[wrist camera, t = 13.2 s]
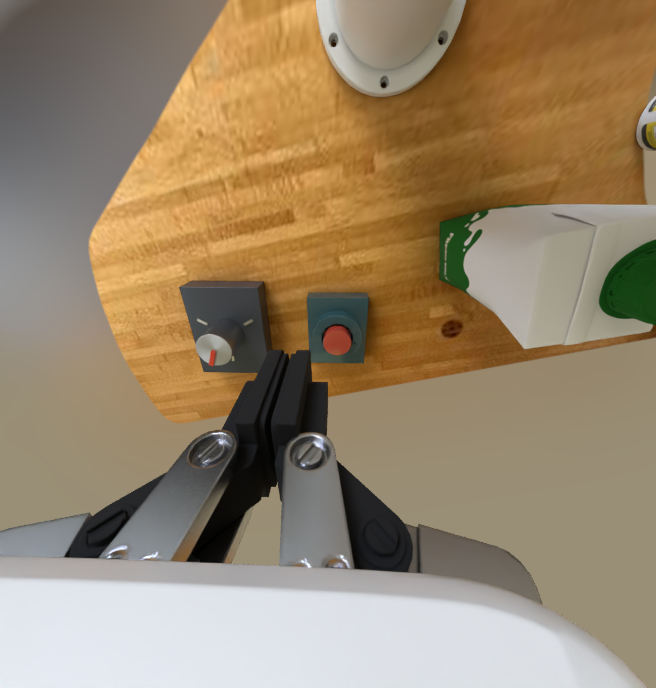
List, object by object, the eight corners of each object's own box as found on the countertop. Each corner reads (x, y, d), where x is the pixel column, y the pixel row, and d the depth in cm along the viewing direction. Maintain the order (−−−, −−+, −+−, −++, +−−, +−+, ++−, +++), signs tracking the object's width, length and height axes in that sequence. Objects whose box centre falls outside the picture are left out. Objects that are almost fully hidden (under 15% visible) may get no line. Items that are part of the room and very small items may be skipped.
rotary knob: (213, 314, 33) (195, 330, 29) (246, 325, 34) (233, 342, 30) (210, 342, 35) (192, 360, 31) (241, 351, 36) (228, 371, 32)
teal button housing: (308, 292, 35) (305, 302, 31) (367, 292, 34) (370, 302, 31) (311, 354, 39) (308, 369, 36) (362, 355, 39) (364, 370, 36)
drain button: (323, 324, 33) (322, 330, 31) (351, 325, 33) (352, 331, 31) (323, 348, 35) (323, 355, 33) (350, 349, 35) (350, 355, 33)
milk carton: (503, 274, 33) (695, 354, 15) (430, 287, 34) (531, 376, 16) (512, 197, 28) (792, 185, 11) (430, 215, 30) (564, 229, 12)
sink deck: (190, 280, 34) (178, 287, 32) (263, 281, 34) (257, 288, 31) (212, 361, 41) (203, 372, 38) (273, 362, 40) (269, 373, 38)
